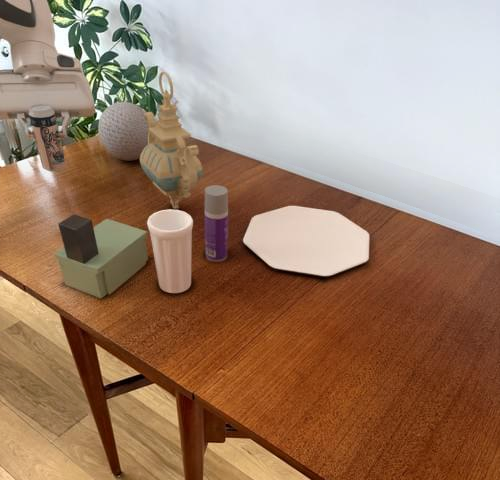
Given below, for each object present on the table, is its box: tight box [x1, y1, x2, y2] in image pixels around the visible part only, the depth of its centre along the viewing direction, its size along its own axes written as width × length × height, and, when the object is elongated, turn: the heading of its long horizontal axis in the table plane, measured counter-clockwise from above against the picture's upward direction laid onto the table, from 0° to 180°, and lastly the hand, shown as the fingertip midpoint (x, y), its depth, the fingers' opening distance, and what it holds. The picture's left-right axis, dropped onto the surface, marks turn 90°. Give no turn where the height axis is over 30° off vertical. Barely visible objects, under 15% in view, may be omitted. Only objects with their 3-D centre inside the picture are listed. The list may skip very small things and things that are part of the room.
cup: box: [146, 208, 194, 294], centre depth 86 cm, size 8×8×14 cm
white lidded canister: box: [29, 104, 67, 172], centre depth 94 cm, size 5×5×12 cm
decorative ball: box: [97, 101, 149, 162], centre depth 129 cm, size 15×15×15 cm
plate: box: [242, 205, 371, 278], centre depth 104 cm, size 28×28×2 cm
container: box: [204, 184, 229, 263], centre depth 94 cm, size 5×5×15 cm
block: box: [58, 213, 99, 264], centre depth 83 cm, size 4×4×7 cm
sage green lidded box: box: [53, 218, 149, 299], centre depth 91 cm, size 10×15×7 cm, turn 154°
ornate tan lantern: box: [139, 71, 204, 210], centre depth 103 cm, size 24×12×30 cm, turn 33°
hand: (47, 137), depth 93 cm, fingers closed on white lidded canister, 5 cm apart
